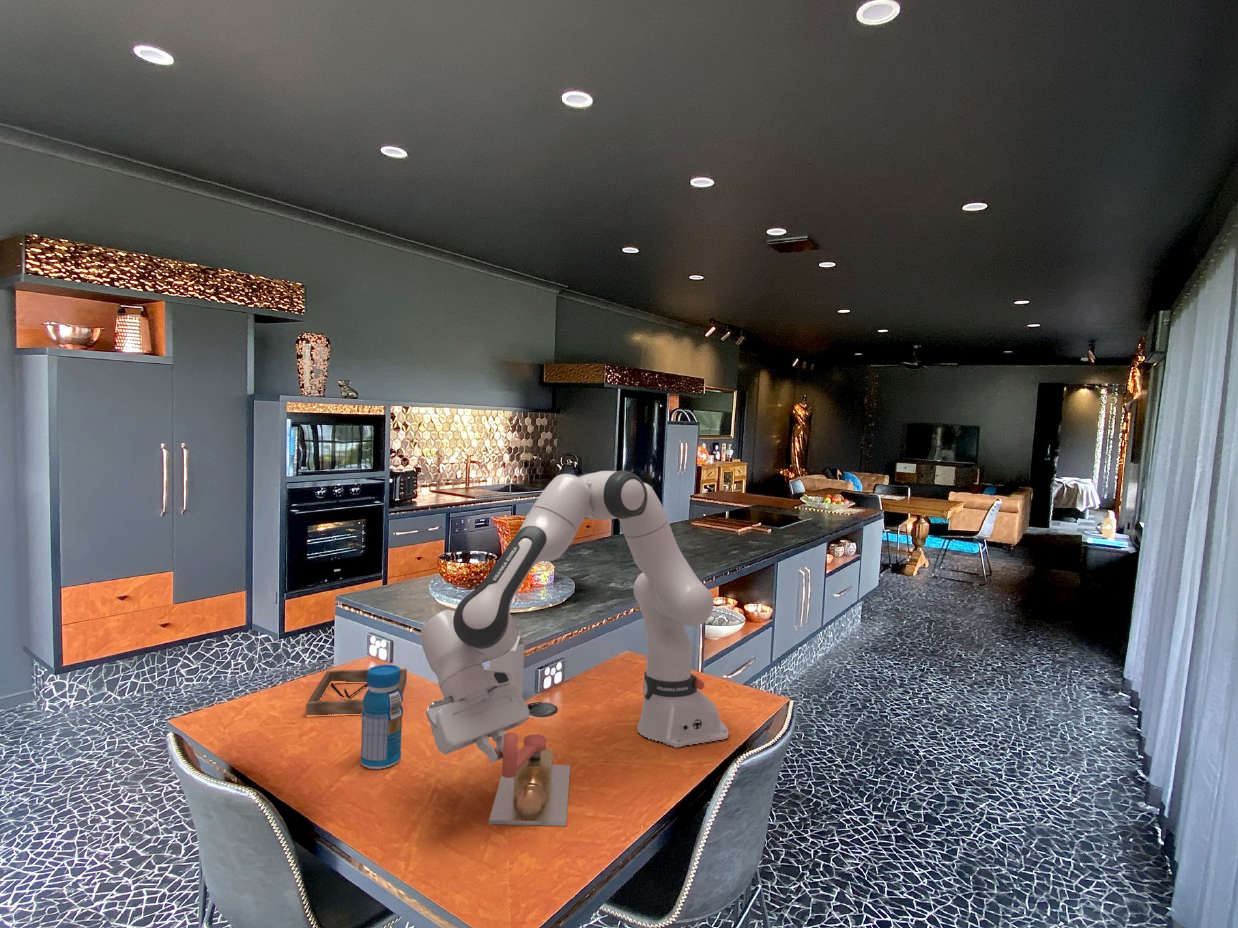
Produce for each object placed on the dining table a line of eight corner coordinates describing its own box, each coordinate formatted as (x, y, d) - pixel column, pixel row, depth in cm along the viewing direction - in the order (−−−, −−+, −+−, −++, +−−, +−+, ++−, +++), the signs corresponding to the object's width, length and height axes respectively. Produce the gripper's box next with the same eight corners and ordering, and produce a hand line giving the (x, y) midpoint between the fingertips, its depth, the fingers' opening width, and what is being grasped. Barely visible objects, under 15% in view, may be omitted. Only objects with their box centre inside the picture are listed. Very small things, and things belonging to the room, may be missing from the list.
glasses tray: (406, 680, 194) (406, 668, 194) (397, 713, 171) (397, 700, 171) (326, 682, 190) (327, 670, 190) (306, 717, 166) (306, 703, 166)
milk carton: (513, 707, 178) (516, 635, 178) (488, 703, 180) (490, 633, 179) (522, 697, 185) (525, 628, 185) (498, 694, 187) (500, 626, 186)
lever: (528, 741, 137) (530, 706, 137) (549, 744, 136) (550, 709, 135) (495, 775, 122) (496, 736, 122) (517, 780, 121) (519, 740, 120)
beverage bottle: (360, 773, 140) (364, 677, 139) (358, 755, 147) (361, 664, 147) (403, 767, 143) (406, 673, 143) (399, 750, 151) (402, 661, 150)
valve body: (504, 767, 145) (506, 725, 145) (570, 768, 146) (571, 726, 145) (489, 824, 123) (490, 774, 123) (566, 825, 124) (568, 776, 123)
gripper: (431, 696, 119) (464, 769, 113) (515, 670, 135) (547, 734, 130) (414, 713, 122) (445, 786, 116) (498, 687, 138) (529, 749, 132)
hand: (500, 758), depth 123 cm, fingers closed
